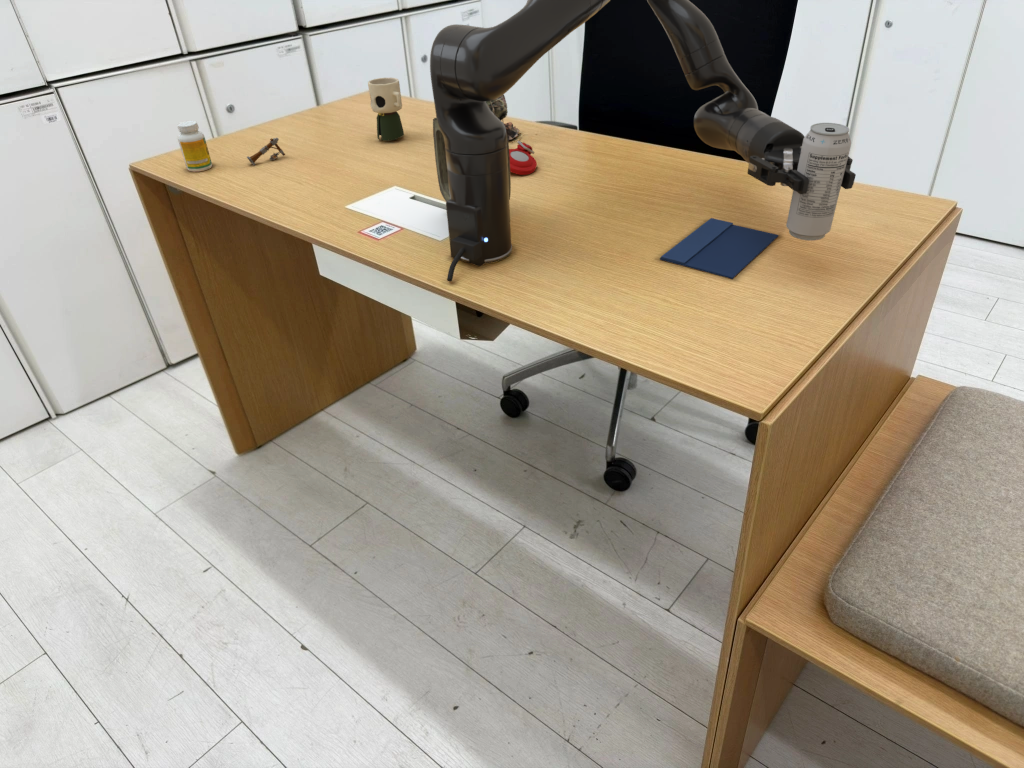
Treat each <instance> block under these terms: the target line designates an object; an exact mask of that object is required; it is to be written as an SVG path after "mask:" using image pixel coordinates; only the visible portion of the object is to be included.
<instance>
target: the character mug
mask: <svg viewBox="0 0 1024 768" xmlns="http://www.w3.org/2000/svg"><path fill="white" fill-rule="evenodd" d="M367 86H368V95H369V97H370V108H371V110H372V112H373V113H376V114H377V115H376V136H377V139H378V140H380V136H381V141H385V142H388V141H396V140H398V139H400V138H402V137H404V136H405V132H404V127H403V122H402V120H401V116H400V114H399V112H398V111H401V110H402V109H403V103H402V94H401V85H400V80H399V78H397V77H378V78H374V79H371V80H369V81H367Z"/></svg>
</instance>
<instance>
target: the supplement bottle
mask: <svg viewBox="0 0 1024 768" xmlns="http://www.w3.org/2000/svg"><path fill="white" fill-rule="evenodd" d="M199 129H200V128H199V124H198V122H197V121H196V120H186V121H182V122H178V123H177V130H178V132H179V134H178V136H177V142H178V145H179V147H180V148H179V149H180V151H181V154H182V157H183V161H184V164H185V167H186V170H187V171H189V172H195V173H196V172H197V173H198V172H199V173H200V172H205V171H207V170H210V169H211V168H212V167H213V162H212V159H211V154H210V151H209V147H208V145H207V141H206V137H205V135H204V133H203V132H202V131H200V130H199Z"/></svg>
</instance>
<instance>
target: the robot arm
mask: <svg viewBox="0 0 1024 768" xmlns="http://www.w3.org/2000/svg"><path fill="white" fill-rule="evenodd" d="M646 1H647V3H648V5H649V6H650V8H651V9H652V11H653V13H654V15H655V16H656V18H657V20H658V21H659V22H660V24H661V26H662V27H663V29H664V31H665V33H666V36H667V37H668V39H669V41H670V44H671V46H672V48H673V50H674V52H675V55H676V57H677V59H678V62H679V65H680V67H681V69H682V71H683V73H684V77H685V79H686V81H687V83H688V85H689V87H690V88H691V90H694V91H699V90H700V91H701V90H703V89H706V88H709V87H714V86H718V87H719V88H720V89H722V90H723V94H721V95H719V96H717V97H715V98H713V99H712V100H710V101H708V102H705V104H703V105H701V106H700V107H699V108H698V109H697V111H696V112H695V113H694V117H693V128H694V132H695V133H696V135H697V137H698V138H699V139H700V140H701V141H702V142H703V143H704V144H706V145H708V146H710V147H712V148H714V149H715V148H716V149H720V150H726V151H734V152H736V153H737V154H738V155H740V156H741V157H742V158H743V160H744V161H745V162H746V163H748V168H747V175H748V176H750V177H752V178H754V179H755V180H758V181H759V182H761V183H763V184H765V185H767V186H769V187H774V186H776V184H777V183H779V184H780V186H781V187H788V188H789V189H791V190H792V191H793V190H794V191H796V192H798V193H799V194H806V193H807V189H808V184H809V179H808V178H807V177H806V176H804V175H803V174H801V173H800V172H798V171H797V169H798V164H799V159H800V154H801V149H802V144H803V139H804V137H805V135H804V134H803V133H802V132H801V131H800V130H797V129H796V128H794V127H793V126H791V125H789V124H787V123H786V122H784V121H783V120H780V118H779V119H778V118H776V117H773V116H770V115H769V114H767V113H766V112H763V111H761V110H759V106H758V103H757V100H756V99H755V97H754V95H753V94H752V93H751V92H750V90H749V89H748V88H747V87H746V85H745V84H744V83H743V82H742V80H741V79H740V77H739V76H738V75H737V73H736V72H735V71H734V69H733V67H732V65H731V64H730V63H729V60H728V58H727V56H726V54H725V51H724V48H723V46H722V43H721V40H720V39H719V35H718V33H717V31H716V29H715V26H714V25H713V23H712V22H711V20H710V19H709V18H708V17H707V16H706V14H705V13H704V12H703V11H702V10H701V9H699V8H698V7H697V6H696V5H695V4H694V3H693V2H691V1H690V0H646ZM610 2H611V0H526V3H525V5H524V6H523V7H522V8H521V9H519V10H518V11H517V12H516V13H514V14H513V15H512V16H510V17H509V18H507V19H506V20H504V21H502V22H500V23H498V24H497V25H494V26H490V27H481V26H475V25H466V24H450V25H447V26H445V27H443V28H442V29H441V30H440V31H438V33H437V35H436V36H435V38H434V40H433V42H432V44H431V49H430V54H429V55H430V56H429V72H430V82H431V83H430V84H431V89H432V96H433V97H432V98H433V104H434V109H435V110H434V111H435V116H436V117H435V118H437V123H438V126H439V129H440V131H441V133H442V135H443V137H444V141H445V150H446V160H447V172H448V183H449V193H450V199H449V200H447V201H445V208H446V209H445V210H446V218H447V219H446V220H447V230H448V239H449V250H450V251H449V252H450V257H451V258H452V261H451V263H450V265H449V267H448V273H447V278H446V280H447V282H452V281H453V280H454V279H453V278H454V275H455V269H456V267H457V264H458V263H459V261H461V262H465V263H468V264H471V265H474V266H477V267H482V266H484V265H488V264H493V263H497V262H500V261H503V260H505V259H506V258H508V257H509V256H510V255H511V254H512V253H513V244H512V227H511V205H510V200H509V181H508V155H507V133H506V127H505V125H504V124H505V123H504V121H502V120H499V119H498V118H497V117H496V116H495V115H494V114H493V113H492V111H491V110H490V109H489V107H488V105H487V103H486V101H492V100H495V99H497V98H499V97H501V96H502V95H503V94H504V95H505V94H506V93H508V91H509V90H511V89H512V88H513V87H514V86H515V85H516V83H518V81H520V80H521V78H522V77H524V75H526V74H527V72H528V71H529V70H530V69H531V68H532V67H533V66H534V65H535V64H536V63H537V62H538V61H539V60H540V59H541V58H542V57H544V55H546V54H547V53H548V52H549V51H551V50H552V49H553V48H554V47H555V46H557V45H558V44H559V43H560V42H561V41H563V40H564V39H566V37H567V36H569V35H570V34H571V33H572V32H574V31H575V30H577V29H578V28H579V27H581V26H582V25H583V24H585V23H586V22H587V21H589V20H590V19H591V18H593V17H594V16H595V15H596V14H597V13H598V12H600V11H601V10H602V9H603V8H604V7H605V6H606V5H608V3H610ZM503 123H504V124H503ZM853 160H854V159H853V158H852V157H851V156H849V155H848V159H847V163H846V167H845V172H844V176H843V180H842V184H841V188H843V189H844V190H850V189H851V190H852V188H853V186H854V183H855V180H856V173H855V172H853V171H852V170H851V167H852V164H853Z"/></svg>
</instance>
